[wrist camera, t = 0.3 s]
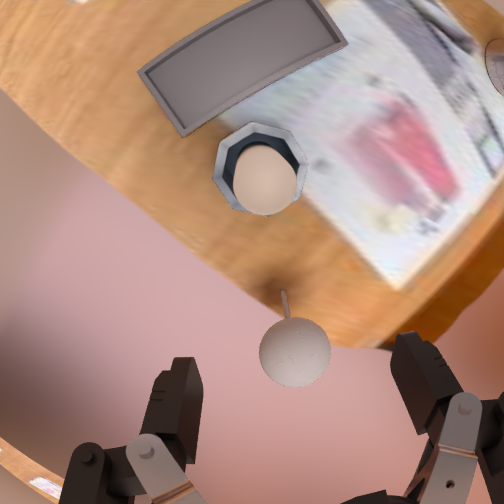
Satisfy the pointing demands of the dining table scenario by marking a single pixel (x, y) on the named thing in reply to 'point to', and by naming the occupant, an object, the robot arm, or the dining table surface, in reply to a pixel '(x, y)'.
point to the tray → (238, 58)
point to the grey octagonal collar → (249, 133)
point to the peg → (263, 179)
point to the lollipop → (294, 350)
